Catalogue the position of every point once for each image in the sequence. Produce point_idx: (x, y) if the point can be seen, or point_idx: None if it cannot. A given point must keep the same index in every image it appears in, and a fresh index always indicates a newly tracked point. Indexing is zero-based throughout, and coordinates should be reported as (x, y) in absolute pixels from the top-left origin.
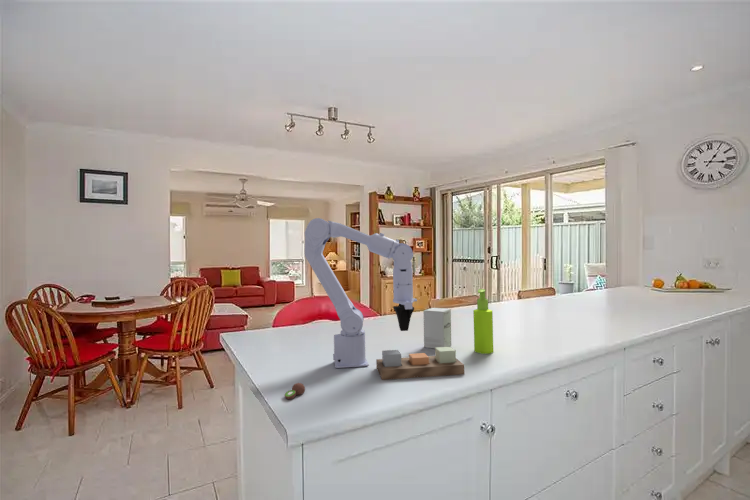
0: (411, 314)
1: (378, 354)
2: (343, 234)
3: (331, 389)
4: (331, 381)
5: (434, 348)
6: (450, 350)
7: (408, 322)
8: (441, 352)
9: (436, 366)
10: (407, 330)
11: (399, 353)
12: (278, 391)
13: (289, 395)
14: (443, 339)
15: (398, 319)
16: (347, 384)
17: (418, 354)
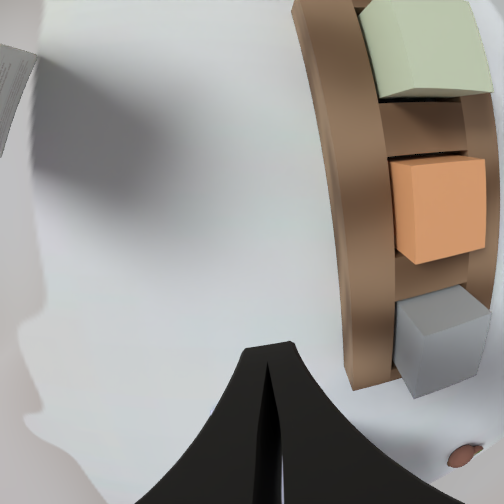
0: (407, 472)
1: (131, 364)
2: None
3: (468, 417)
4: (422, 435)
5: (18, 103)
6: (472, 25)
7: (322, 401)
8: (488, 82)
9: (495, 131)
10: (294, 345)
11: (483, 320)
12: (433, 474)
13: (478, 452)
14: (5, 47)
15: (281, 498)
16: (456, 401)
17: (435, 208)
